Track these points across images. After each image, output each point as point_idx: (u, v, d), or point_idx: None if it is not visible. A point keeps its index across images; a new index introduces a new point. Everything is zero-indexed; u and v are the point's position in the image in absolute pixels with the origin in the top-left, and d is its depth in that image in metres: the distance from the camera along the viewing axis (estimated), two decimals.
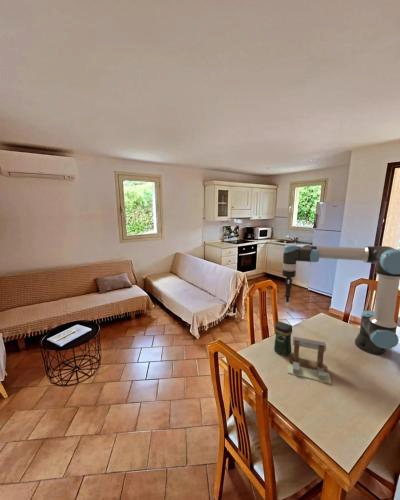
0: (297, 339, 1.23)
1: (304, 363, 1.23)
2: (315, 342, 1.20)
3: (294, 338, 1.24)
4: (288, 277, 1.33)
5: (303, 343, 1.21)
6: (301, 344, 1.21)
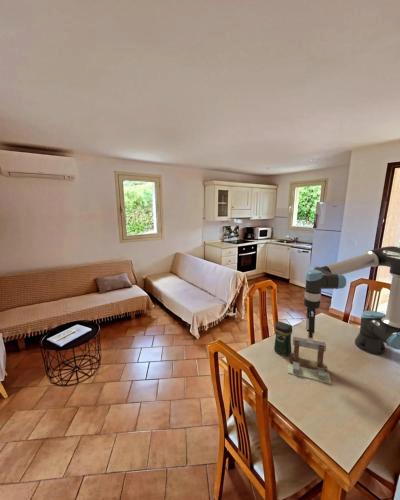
0: (297, 339, 1.23)
1: (304, 363, 1.23)
2: (315, 342, 1.20)
3: (294, 338, 1.24)
4: (311, 308, 1.14)
5: (303, 343, 1.21)
6: (301, 344, 1.21)
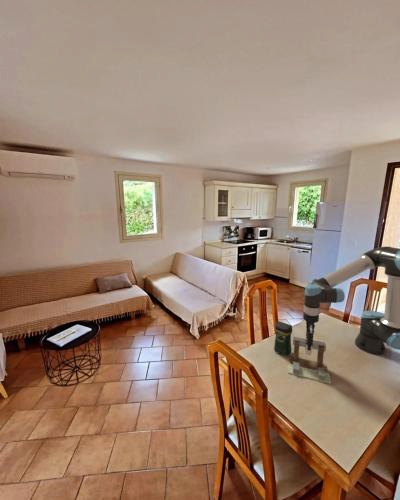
0: (297, 339, 1.23)
1: (304, 363, 1.23)
2: (315, 342, 1.20)
3: (294, 338, 1.24)
4: (310, 322, 1.15)
5: (303, 343, 1.21)
6: (301, 344, 1.21)
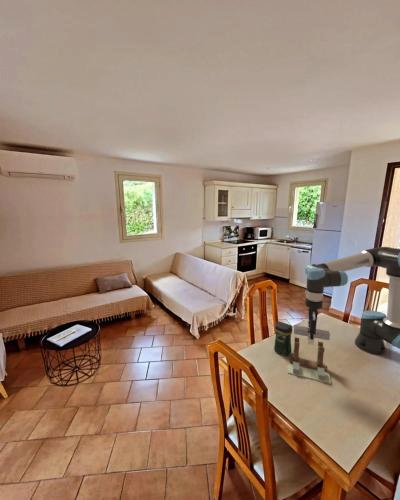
0: (298, 328, 1.14)
1: (304, 363, 1.23)
2: (318, 331, 1.10)
3: (295, 327, 1.15)
4: (313, 309, 1.06)
5: (304, 332, 1.12)
6: (303, 333, 1.12)
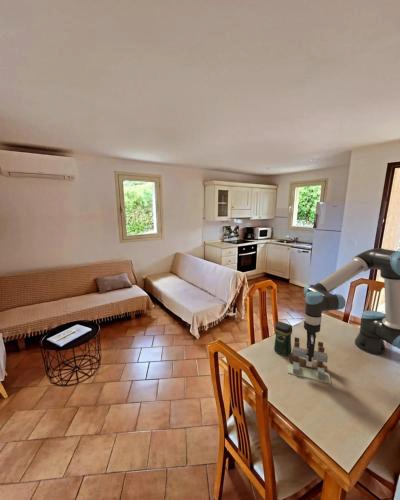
0: (297, 349, 1.16)
1: (304, 363, 1.23)
2: (316, 353, 1.13)
3: (294, 348, 1.17)
4: (312, 332, 1.08)
5: (303, 354, 1.14)
6: (301, 355, 1.14)
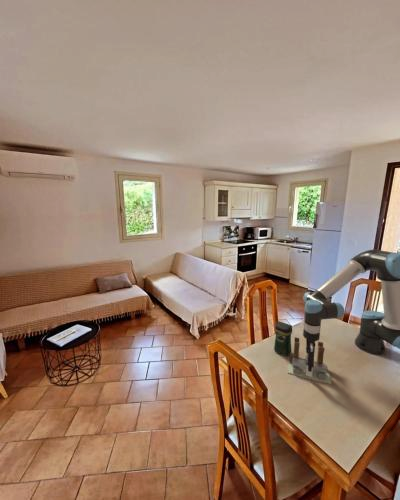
0: (296, 361, 1.17)
1: None
2: (315, 364, 1.14)
3: (293, 359, 1.18)
4: (311, 341, 1.09)
5: (302, 365, 1.15)
6: (301, 366, 1.16)
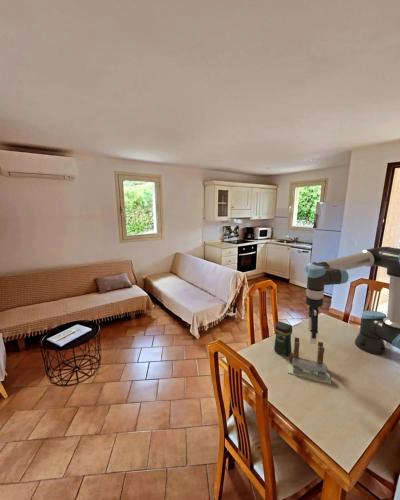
0: (296, 361, 1.17)
1: None
2: (315, 364, 1.14)
3: (293, 359, 1.18)
4: (314, 307, 1.06)
5: (302, 365, 1.15)
6: (301, 366, 1.16)
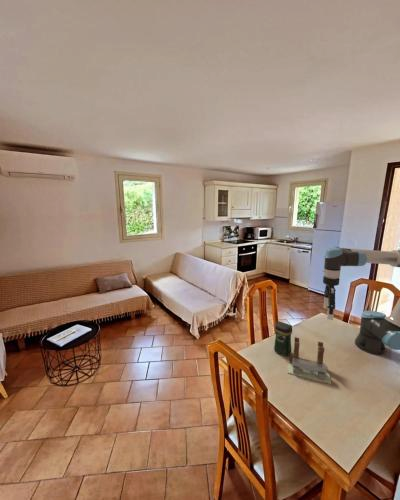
0: (296, 361, 1.17)
1: None
2: (315, 364, 1.14)
3: (293, 359, 1.18)
4: (331, 285, 1.15)
5: (302, 365, 1.15)
6: (301, 366, 1.16)
